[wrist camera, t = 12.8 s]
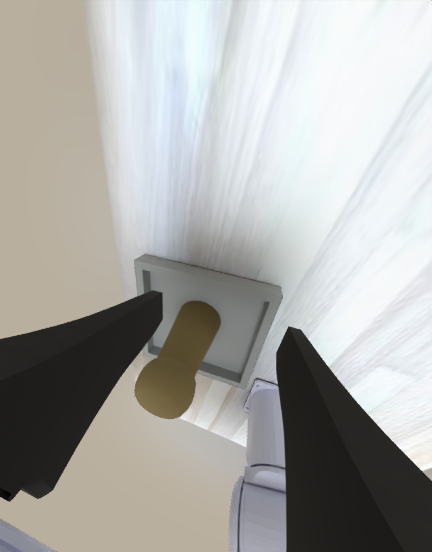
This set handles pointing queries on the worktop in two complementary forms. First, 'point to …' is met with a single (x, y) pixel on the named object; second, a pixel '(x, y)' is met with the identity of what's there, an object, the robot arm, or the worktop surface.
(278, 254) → the worktop surface
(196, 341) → the cork
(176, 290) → the grey tray
